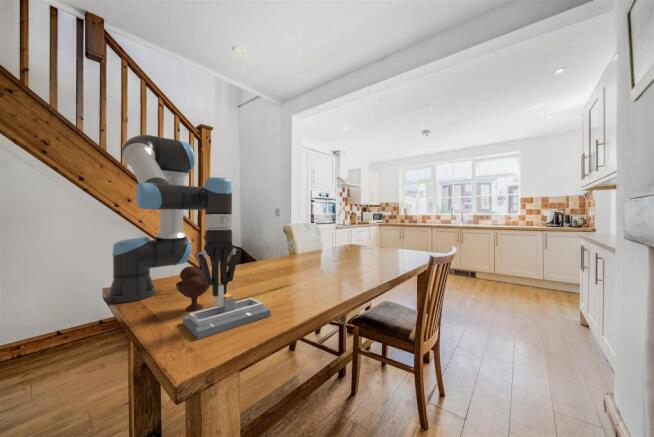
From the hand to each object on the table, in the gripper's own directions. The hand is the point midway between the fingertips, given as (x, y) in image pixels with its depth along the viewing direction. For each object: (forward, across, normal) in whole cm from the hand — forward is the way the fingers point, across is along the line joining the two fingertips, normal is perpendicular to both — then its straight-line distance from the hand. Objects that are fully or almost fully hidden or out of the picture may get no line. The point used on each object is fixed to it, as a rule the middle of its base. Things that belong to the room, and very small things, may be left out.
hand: (219, 305), depth 78 cm
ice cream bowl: (+5, -2, +17) cm, 18 cm away
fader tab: (+3, +2, 0) cm, 4 cm away
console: (+5, +3, 0) cm, 6 cm away
